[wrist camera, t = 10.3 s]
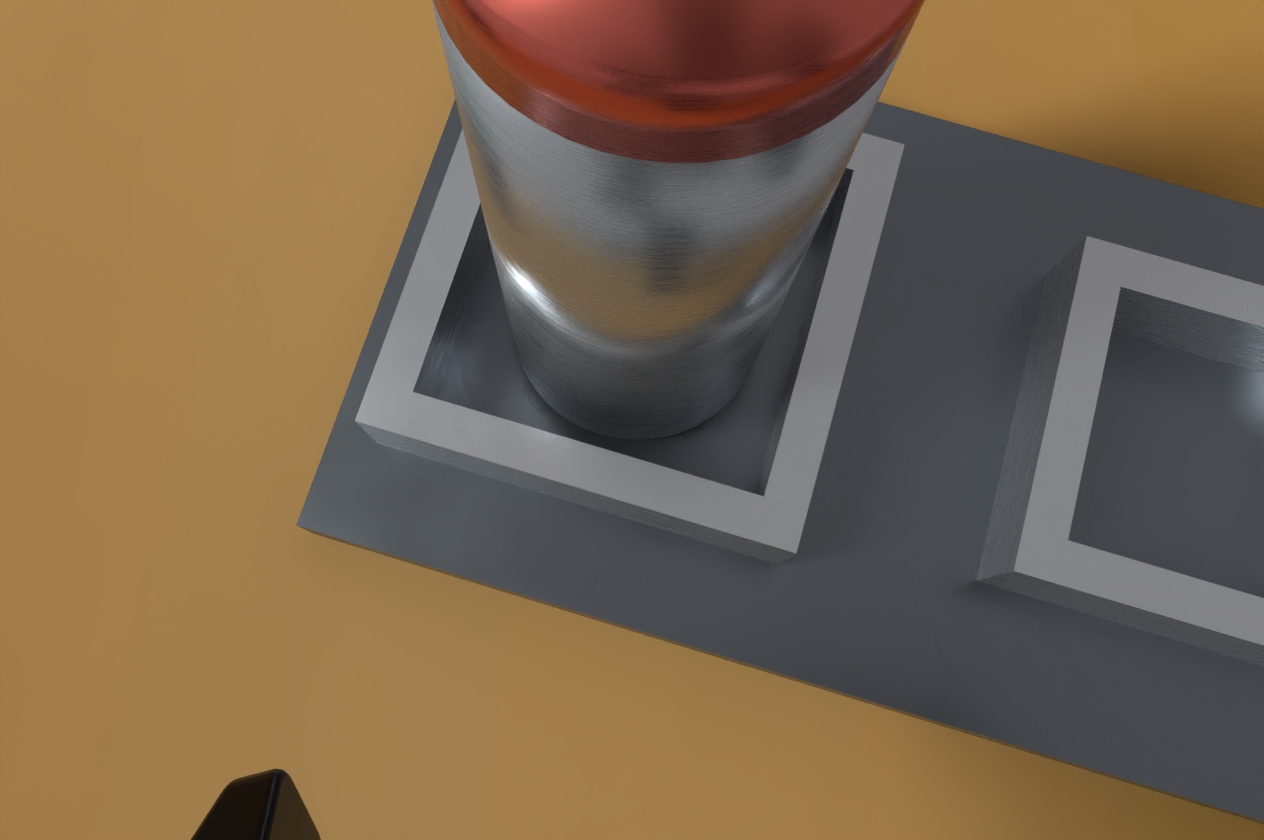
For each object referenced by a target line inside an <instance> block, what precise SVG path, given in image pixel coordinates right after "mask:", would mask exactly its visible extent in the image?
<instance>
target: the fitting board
mask: <svg viewBox="0 0 1264 840" xmlns="http://www.w3.org/2000/svg"><path fill="white" fill-rule="evenodd" d="M297 526H299V527H301V528H303V529H305V530H307V531H309V532H311V533H314V534H317V535H320V536H324V537H327V538H330V539H333V540H337V541H340V542H343V543H347V544H350V545H353V546H356V547H360V548H363V549H366V550H369V551H373V552H376V553H379V554H382V555H386V556H389V557H392V558H396V559H399V560H402V561H405V562H409V563H412V564H415V565H418V566H422V567H425V568H428V569H431V570H435V571H438V572H441V573H445V574H448V575H451V576H454V577H458V578H461V579H464V580H467V581H471V582H474V583H477V584H481V585H484V586H487V587H490V588H494V589H497V590H500V591H503V592H507V593H510V594H513V595H516V596H520V597H523V598H526V599H530V600H533V601H536V602H539V603H543V604H546V605H549V606H552V607H556V608H559V609H562V610H565V611H569V612H572V613H575V614H579V615H582V616H585V617H588V618H592V619H595V620H598V621H601V622H605V623H608V624H611V625H614V626H618V627H621V628H624V629H628V630H631V631H634V632H637V633H641V634H644V635H647V636H650V637H654V638H657V639H660V640H663V641H667V642H670V643H673V644H677V645H680V646H683V647H686V648H690V649H693V650H696V651H699V652H703V653H706V654H709V655H712V656H716V657H719V658H722V659H726V660H729V661H732V662H735V663H739V664H742V665H745V666H748V667H752V668H755V669H758V670H762V671H765V672H768V673H771V674H775V675H778V676H781V677H784V678H788V679H791V680H794V681H797V682H801V683H804V684H807V685H811V686H814V687H817V688H820V689H824V690H827V691H830V692H833V693H837V694H840V695H843V696H846V697H850V698H853V699H856V700H860V701H863V702H866V703H869V704H873V705H876V706H879V707H882V708H886V709H889V710H892V711H895V712H899V713H902V714H905V715H909V716H912V717H915V718H918V719H922V720H925V721H928V722H931V723H935V724H938V725H941V726H944V727H948V728H951V729H954V730H958V731H961V732H964V733H967V734H971V735H974V736H977V737H980V738H984V739H987V740H990V741H993V742H997V743H1000V744H1003V745H1007V746H1010V747H1013V748H1016V749H1020V750H1023V751H1026V752H1029V753H1033V754H1036V755H1039V756H1042V757H1046V758H1049V759H1052V760H1056V761H1059V762H1062V763H1065V764H1069V765H1072V766H1075V767H1078V768H1082V769H1085V770H1088V771H1092V772H1095V773H1098V774H1101V775H1105V776H1108V777H1111V778H1114V779H1118V780H1121V781H1124V782H1127V783H1131V784H1134V785H1137V786H1141V787H1144V788H1147V789H1150V790H1154V791H1157V792H1160V793H1163V794H1167V795H1170V796H1173V797H1176V798H1180V799H1183V800H1186V801H1190V802H1193V803H1196V804H1199V805H1203V806H1206V807H1209V808H1212V809H1216V810H1219V811H1222V812H1225V813H1229V814H1232V815H1235V816H1239V817H1242V818H1245V819H1248V820H1252V821H1255V822H1258V823H1261V824H1264V209H1260V208H1257V207H1253V206H1250V205H1246V204H1243V203H1239V202H1235V201H1232V200H1228V199H1225V198H1221V197H1217V196H1214V195H1210V194H1207V193H1203V192H1200V191H1196V190H1192V189H1189V188H1185V187H1182V186H1178V185H1175V184H1171V183H1167V182H1164V181H1160V180H1157V179H1153V178H1149V177H1146V176H1142V175H1139V174H1135V173H1132V172H1128V171H1124V170H1121V169H1117V168H1114V167H1110V166H1106V165H1103V164H1099V163H1096V162H1092V161H1089V160H1085V159H1081V158H1078V157H1074V156H1071V155H1067V154H1064V153H1060V152H1056V151H1053V150H1049V149H1046V148H1042V147H1038V146H1035V145H1031V144H1028V143H1024V142H1021V141H1017V140H1013V139H1010V138H1006V137H1003V136H999V135H995V134H992V133H988V132H985V131H981V130H978V129H974V128H970V127H967V126H963V125H960V124H956V123H953V122H949V121H945V120H942V119H938V118H935V117H931V116H927V115H924V114H920V113H917V112H913V111H910V110H906V109H902V108H899V107H895V106H892V105H888V104H884V103H881V102H877V103H876V105H875V107H874V110H873V112H872V114H871V116H870V118H869V120H868V122H867V125H866V127H865V129H864V131H863V133H862V135H861V137H860V139H859V142H858V144H857V146H856V148H855V150H854V152H853V154H852V156H851V159H850V161H849V163H848V165H847V167H846V169H845V171H844V173H843V176H842V178H841V180H840V182H839V184H838V186H837V188H836V191H835V193H834V195H833V197H832V199H831V201H830V203H829V205H828V208H827V210H826V212H825V214H824V216H823V218H822V220H821V222H820V225H819V227H818V229H817V231H816V233H815V235H814V237H813V239H812V242H811V244H810V246H809V248H808V250H807V252H806V254H805V257H804V259H803V261H802V263H801V265H800V267H799V269H798V271H797V274H796V276H795V278H794V280H793V282H792V284H791V286H790V288H789V291H788V293H787V295H786V297H785V299H784V301H783V303H782V306H781V308H780V310H779V312H778V314H777V316H776V318H775V320H774V323H773V325H772V327H771V329H770V331H769V333H768V335H767V337H766V340H765V342H764V344H763V346H762V348H761V350H760V352H759V354H758V357H757V359H756V361H755V363H754V365H753V367H752V369H751V371H750V373H749V375H748V377H747V379H746V381H745V382H744V384H743V385H742V387H741V388H740V390H739V391H738V392H737V394H736V395H735V396H734V397H733V398H732V399H731V401H730V402H729V403H728V404H727V405H726V406H725V407H724V408H723V409H721V410H720V411H719V412H718V413H716V414H715V415H714V416H713V417H711V418H710V419H708V420H706V421H705V422H703V423H701V424H700V425H698V426H696V427H694V428H691V429H689V430H687V431H685V432H682V433H679V434H675V435H672V436H668V437H664V438H657V439H651V440H627V439H618V438H612V437H608V436H604V435H600V434H597V433H594V432H592V431H589V430H587V429H584V428H582V427H580V426H578V425H576V424H575V423H573V422H571V421H569V420H568V419H566V418H565V417H563V416H562V415H561V414H559V413H558V412H556V411H555V410H554V409H553V408H552V407H551V406H550V405H549V404H548V403H547V402H546V401H545V400H544V399H543V398H542V397H541V396H540V395H539V393H538V392H537V391H536V390H535V388H534V387H533V386H532V384H531V382H530V381H529V379H528V377H527V376H526V374H525V372H524V370H523V367H522V365H521V363H520V361H519V358H518V355H517V351H516V348H515V344H514V340H513V336H512V332H511V327H510V323H509V319H508V315H507V311H506V307H505V302H504V298H503V294H502V290H501V286H500V282H499V277H498V273H497V269H496V265H495V261H494V257H493V252H492V248H491V244H490V240H489V236H488V232H487V227H486V223H485V219H484V215H483V211H482V207H481V202H480V198H479V194H478V190H477V186H476V182H475V177H474V173H473V169H472V165H471V161H470V157H469V152H468V148H467V144H466V140H465V136H464V132H463V127H462V123H461V119H460V115H459V111H458V107H457V102H456V99H455V101H454V104H453V107H452V109H451V112H450V115H449V117H448V120H447V123H446V126H445V128H444V131H443V134H442V136H441V139H440V142H439V144H438V147H437V150H436V152H435V155H434V158H433V160H432V163H431V166H430V168H429V171H428V174H427V177H426V179H425V182H424V185H423V187H422V190H421V193H420V195H419V198H418V201H417V203H416V206H415V209H414V211H413V214H412V217H411V219H410V222H409V225H408V227H407V230H406V233H405V236H404V238H403V241H402V244H401V246H400V249H399V252H398V254H397V257H396V260H395V262H394V265H393V268H392V270H391V273H390V276H389V278H388V281H387V284H386V287H385V289H384V292H383V295H382V297H381V300H380V303H379V305H378V308H377V311H376V313H375V316H374V319H373V321H372V324H371V327H370V329H369V332H368V335H367V337H366V340H365V343H364V346H363V348H362V351H361V354H360V356H359V359H358V362H357V364H356V367H355V370H354V372H353V375H352V378H351V380H350V383H349V386H348V388H347V391H346V394H345V397H344V399H343V402H342V405H341V407H340V410H339V413H338V415H337V418H336V421H335V423H334V426H333V429H332V431H331V434H330V437H329V439H328V442H327V445H326V447H325V450H324V453H323V456H322V458H321V461H320V464H319V466H318V469H317V472H316V474H315V477H314V480H313V482H312V485H311V488H310V490H309V493H308V496H307V498H306V501H305V504H304V507H303V509H302V512H301V515H300V517H299V520H298V523H297Z"/></svg>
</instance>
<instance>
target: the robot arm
mask: <svg viewBox="0 0 1264 840" xmlns="http://www.w3.org/2000/svg"><path fill="white" fill-rule="evenodd" d="M191 840H321V839H320V836H319V833H318V831H317V829H316V827H315V825H314V823H313V821H312V819H311V817H310V815H309V813H308V811H307V809H306V807H305V805H304V803H303V801H302V799H301V797H300V794H299V792H298V790H297V788H296V786H295V784H294V782H293V781H292V779H291V777H290V776H289V775H288V774H287V773H286V772H285V771H284V770H282V769H272V770H268V771H264V772H261V773H257V774H253V775H249V776H245V777H242V778H238V779H235V780H233V781H232V782H230V783H229V784H228V785H227V786H226V787H225V788H224V790H223V791H222V793H221V794H220V796H219V797H218V799H217V800H216V802H215V803H214V805H213V806H212V808H211V809H210V811H209V812H208V814H207V815H206V817H205V819H204V820H203V822H202V823H201V825H200V826H199V828H198V829H197V831H196V832H195V834H194V835H193V837H192V838H191Z"/></svg>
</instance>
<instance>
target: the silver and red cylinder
mask: <svg viewBox="0 0 1264 840" xmlns="http://www.w3.org/2000/svg"><path fill="white" fill-rule="evenodd" d="M924 1H925V0H432V2H433V7H434V11H435V15H436V19H437V23H438V27H439V32H440V36H441V40H442V44H443V48H444V52H445V57H446V61H447V65H448V69H449V73H450V77H451V82H452V86H453V90H454V94H455V98H456V102H457V107H458V111H459V115H460V119H461V123H462V127H463V132H464V136H465V140H466V144H467V148H468V152H469V157H470V161H471V165H472V169H473V173H474V177H475V182H476V186H477V190H478V194H479V198H480V202H481V207H482V211H483V215H484V219H485V223H486V227H487V232H488V236H489V240H490V244H491V248H492V252H493V257H494V261H495V265H496V269H497V273H498V277H499V282H500V286H501V290H502V294H503V298H504V302H505V307H506V311H507V315H508V319H509V323H510V327H511V332H512V336H513V340H514V344H515V348H516V351H517V355H518V358H519V361H520V363H521V365H522V367H523V370H524V372H525V374H526V376H527V377H528V379H529V381H530V382H531V384H532V386H533V387H534V388H535V390H536V391H537V392H538V393H539V395H540V396H541V397H542V398H543V399H544V400H545V401H546V402H547V403H548V404H549V405H550V406H551V407H552V408H553V409H554V410H555V411H556V412H558V413H559V414H561V415H562V416H563V417H565V418H566V419H568V420H569V421H571V422H573V423H575V424H576V425H578V426H580V427H582V428H584V429H587V430H589V431H592V432H594V433H597V434H600V435H604V436H608V437H612V438H618V439H627V440H651V439H657V438H664V437H668V436H672V435H675V434H679V433H682V432H685V431H687V430H689V429H691V428H694V427H696V426H698V425H700V424H701V423H703V422H705V421H706V420H708V419H710V418H711V417H713V416H714V415H715V414H716V413H718V412H719V411H720V410H721V409H723V408H724V407H725V406H726V405H727V404H728V403H729V402H730V401H731V399H732V398H733V397H734V396H735V395H736V394H737V392H738V391H739V390H740V388H741V387H742V385H743V384H744V382H745V381H746V379H747V377H748V375H749V373H750V371H751V369H752V367H753V365H754V363H755V361H756V359H757V357H758V354H759V352H760V350H761V348H762V346H763V344H764V342H765V340H766V337H767V335H768V333H769V331H770V329H771V327H772V325H773V323H774V320H775V318H776V316H777V314H778V312H779V310H780V308H781V306H782V303H783V301H784V299H785V297H786V295H787V293H788V291H789V288H790V286H791V284H792V282H793V280H794V278H795V276H796V274H797V271H798V269H799V267H800V265H801V263H802V261H803V259H804V257H805V254H806V252H807V250H808V248H809V246H810V244H811V242H812V239H813V237H814V235H815V233H816V231H817V229H818V227H819V225H820V222H821V220H822V218H823V216H824V214H825V212H826V210H827V208H828V205H829V203H830V201H831V199H832V197H833V195H834V193H835V191H836V188H837V186H838V184H839V182H840V180H841V178H842V176H843V173H844V171H845V169H846V167H847V165H848V163H849V161H850V159H851V156H852V154H853V152H854V150H855V148H856V146H857V144H858V142H859V139H860V137H861V135H862V133H863V131H864V129H865V127H866V125H867V122H868V120H869V118H870V116H871V114H872V112H873V110H874V107H875V105H876V103H877V101H878V99H879V97H880V95H881V93H882V90H883V88H884V86H885V84H886V82H887V80H888V78H889V76H890V73H891V71H892V69H893V67H894V65H895V63H896V61H897V59H898V56H899V54H900V52H901V50H902V48H903V46H904V44H905V41H906V39H907V37H908V35H909V33H910V31H911V29H912V27H913V24H914V22H915V20H916V18H917V16H918V14H919V12H920V10H921V7H922V5H923V3H924Z"/></svg>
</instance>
